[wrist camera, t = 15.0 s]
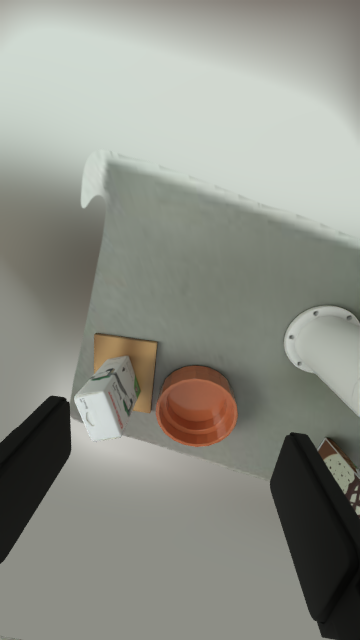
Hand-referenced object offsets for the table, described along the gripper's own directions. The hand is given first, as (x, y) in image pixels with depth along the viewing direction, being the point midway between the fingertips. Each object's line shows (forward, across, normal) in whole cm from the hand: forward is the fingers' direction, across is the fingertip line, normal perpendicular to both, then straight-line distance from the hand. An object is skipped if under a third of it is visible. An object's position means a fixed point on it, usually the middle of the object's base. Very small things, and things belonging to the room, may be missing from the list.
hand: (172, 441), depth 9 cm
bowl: (+30, -4, +20) cm, 37 cm away
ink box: (+30, +11, +17) cm, 36 cm away
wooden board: (+30, +11, +17) cm, 36 cm away
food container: (+31, -34, +30) cm, 55 cm away
